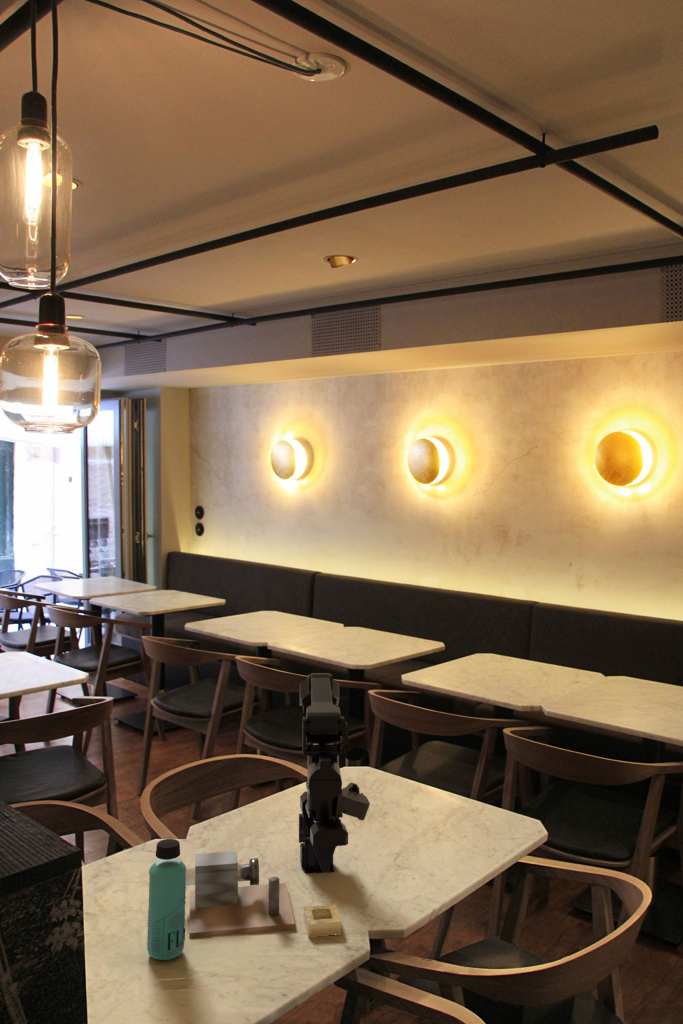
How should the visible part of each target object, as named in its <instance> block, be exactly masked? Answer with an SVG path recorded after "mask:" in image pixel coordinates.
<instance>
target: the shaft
mask: <svg viewBox="0 0 683 1024" xmlns="http://www.w3.org/2000/svg"><path fill="white" fill-rule="evenodd" d="M247 881H248V882H249V886H257V885H260V864H259V857H254V858H249V862H248V863H241V864H238V883H239V882H247ZM185 884H186V887H187V886H188V887H189V886H195V867H191V868H186V877H185Z"/></svg>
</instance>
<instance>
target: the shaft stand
mask: <svg viewBox="0 0 683 1024" xmlns="http://www.w3.org/2000/svg"><path fill="white" fill-rule="evenodd" d="M194 855H195V858H194V864H195V865H194V868H195V885H194V887H195V888H194V889H195V890H189V925H188V926H189V930H188V931H189V932H188V934H189V936H188V937H189V938H202V937H203V938H205V937H212V936H220V935H221V936H222V935H233V934H249V933H263V931H266V932H277V931H280V932H281V931H294V930H296V923H295V916H294V911H293V909H292V904H291V899H290V894H289V890H288V885H287V882H286V883H285V882H283V883H280V878H279V877H278V876H271V877H269V878H268V884H259V885H253V886H250V885H248V886H246V885H245V886H239V882H238V865H239V861H238V853H237V850H231V851H230V850H227V851H217V852H216V851H215V852H204V853H203V852H202V853H195V854H194Z"/></svg>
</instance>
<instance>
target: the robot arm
mask: <svg viewBox="0 0 683 1024" xmlns="http://www.w3.org/2000/svg"><path fill="white" fill-rule="evenodd" d="M339 703H340V683H339V681H337V680H336V679H334V678H333V674H332V673H331V674H330V672H327V673H326V672H323V673H321V672H317V673H315V672H312V673H311V674H308V676H307V678H305V680H303V681H301V682H299V706H301V707H302V715H303V717H302V756H303V757H304V756H305V757H306V756H307V780H305V788H306V790H307V791H304V792H303V793H302V794H301V795H300V797H299V807H300V810H301V813H298V843H299V863H300V867H301V868H303V872H304V874H321V873H323V874H326V873H334V872H335V869H336V868H335V865H334V854H335V851H336V848H337V847H342V846H347V845H349V832H348V830H347V828H346V825H345V824H344V822H342V820H341V818H344V817H343V814H344V815H346V816H351V817H353V818H357V820H360V821H364V820H365V819H366V816H367V814H368V811H369V808H370V805H371V803H370V800H369V799H368V797H367V795H365V794H364V793H363V792H360V787H359V785H358V784H357V783H354V782H350V783H348V784H347V785H346V786H345V787H343V781H342V775H341V769H340V765H339V763H340V762H339V761H340V760H339V759H340V757H339V756H346V749H349V729H348V728H349V727H348V722H347V721H346V718H345V717H344V716H342V715H341V709H340V707H339ZM340 743H341V745H340Z"/></svg>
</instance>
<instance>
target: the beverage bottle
mask: <svg viewBox="0 0 683 1024" xmlns="http://www.w3.org/2000/svg"><path fill="white" fill-rule="evenodd" d="M180 844H181V843H180V841H179V840H177V839H174V838H165V839H162V840H160V841H158V842H157V843H156V848H155V857H156V858H157V860H156V861H155V862H153V863H152V865H151V866H150V867H149V869H148V875H149V877H148V878H149V880H148V881H149V883H148V888H149V889H148V909H147V912H148V913H147V917H146V919H147V920H146V921H147V923H146V926H147V929H146V930H147V932H146V934H147V937H146V940H147V942H146V948H145V949H147V953H148V955H149V956H150V958H153V959H154V960H155V959H156V960H162V961H166V960H171V959H174V958H175V959H176V957H178V956H180V955H181V954H182V953H183V951H184V948H185V942H186V925H187V924H186V917H185V916H186V914H187V913H186V903H187V901H186V898H187V896H186V889H187V886H186V884H185V877H186V869H187V867H186V865H185V863H184V862H183V861H182V860H181V859H179V856H181V845H180Z"/></svg>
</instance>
